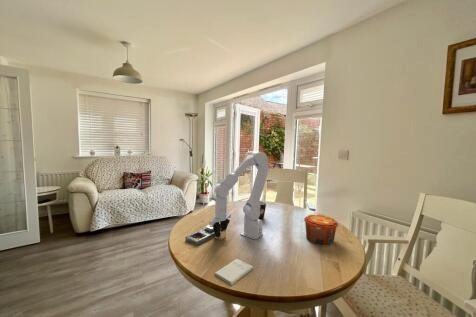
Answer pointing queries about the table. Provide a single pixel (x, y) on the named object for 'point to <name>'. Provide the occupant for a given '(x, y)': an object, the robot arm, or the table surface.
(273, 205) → the table surface
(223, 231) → the tan wooden cube
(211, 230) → the cube with domed knob
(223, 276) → the external hard drive
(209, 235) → the grey rectangular slotted frame
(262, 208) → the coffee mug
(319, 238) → the food container
